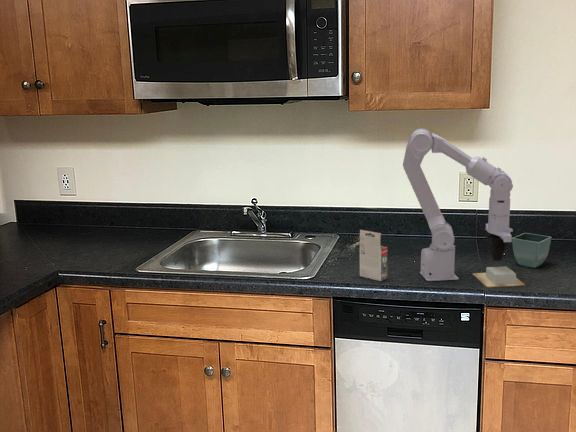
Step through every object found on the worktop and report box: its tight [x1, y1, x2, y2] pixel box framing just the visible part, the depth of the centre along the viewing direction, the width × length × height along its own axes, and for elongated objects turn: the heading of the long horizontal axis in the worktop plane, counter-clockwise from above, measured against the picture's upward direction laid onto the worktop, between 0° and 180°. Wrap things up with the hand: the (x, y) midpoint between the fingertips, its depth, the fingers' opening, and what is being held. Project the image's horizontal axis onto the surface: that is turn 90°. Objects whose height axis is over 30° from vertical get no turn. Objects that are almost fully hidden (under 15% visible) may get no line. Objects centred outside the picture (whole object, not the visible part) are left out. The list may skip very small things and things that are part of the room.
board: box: [472, 272, 526, 288], centre depth 190 cm, size 11×12×1 cm
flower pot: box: [511, 232, 552, 269], centre depth 202 cm, size 9×9×9 cm
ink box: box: [359, 229, 388, 282], centre depth 194 cm, size 4×8×15 cm, turn 47°
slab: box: [485, 265, 517, 285], centre depth 188 cm, size 6×3×7 cm
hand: (496, 260), depth 190 cm, fingers closed
